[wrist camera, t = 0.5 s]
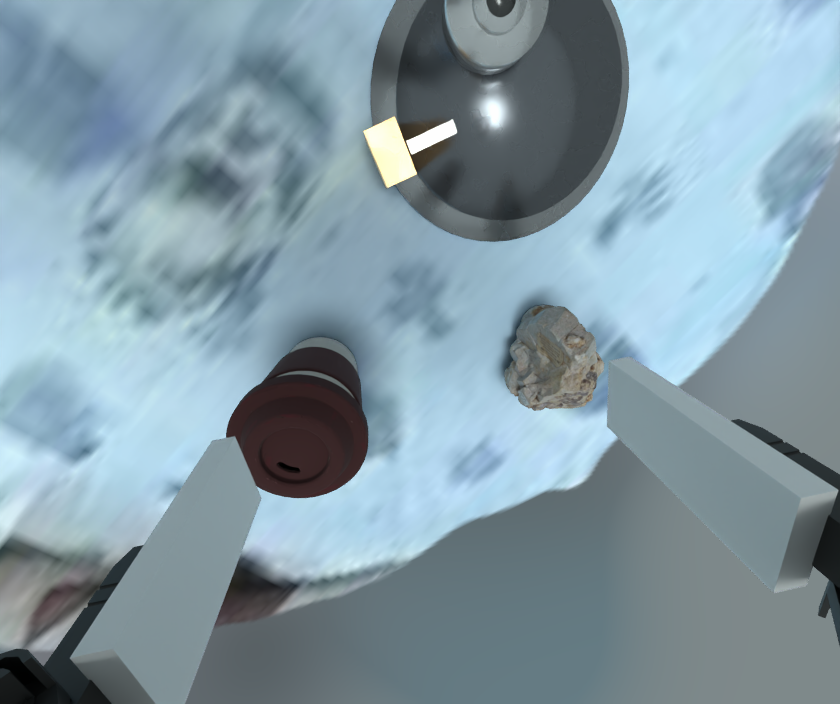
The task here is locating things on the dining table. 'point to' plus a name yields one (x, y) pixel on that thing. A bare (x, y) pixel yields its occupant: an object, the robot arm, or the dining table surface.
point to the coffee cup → (304, 422)
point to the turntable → (504, 115)
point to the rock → (553, 360)
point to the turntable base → (413, 187)
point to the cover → (491, 31)
